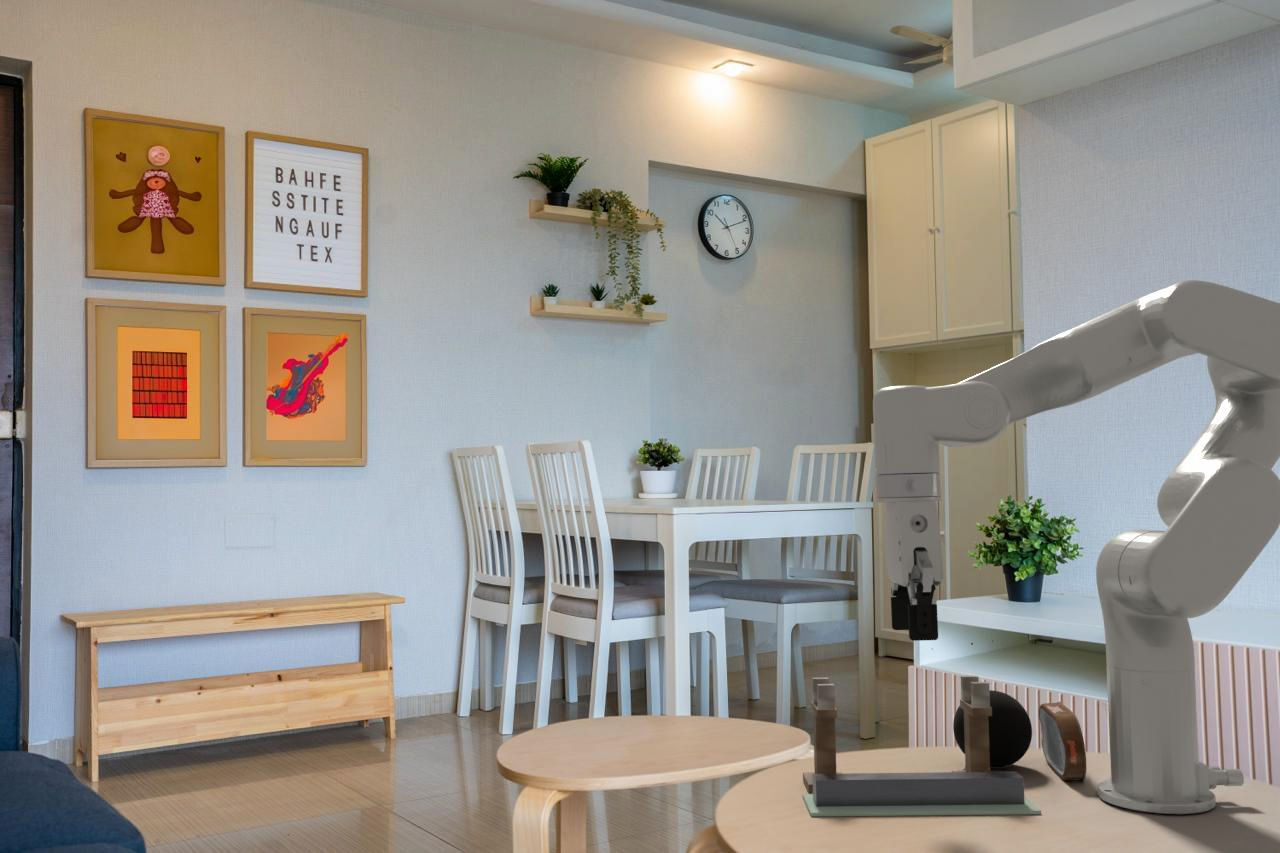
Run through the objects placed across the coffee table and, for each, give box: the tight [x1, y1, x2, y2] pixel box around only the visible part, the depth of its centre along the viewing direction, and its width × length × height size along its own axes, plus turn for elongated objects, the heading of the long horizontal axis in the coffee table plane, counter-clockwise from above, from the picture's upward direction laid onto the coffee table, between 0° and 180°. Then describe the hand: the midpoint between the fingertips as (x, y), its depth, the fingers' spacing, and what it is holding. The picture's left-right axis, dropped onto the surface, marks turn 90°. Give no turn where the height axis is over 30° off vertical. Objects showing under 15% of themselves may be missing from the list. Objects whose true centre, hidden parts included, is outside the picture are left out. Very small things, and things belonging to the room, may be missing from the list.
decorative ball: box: [952, 689, 1033, 769], centre depth 149 cm, size 10×10×10 cm
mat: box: [802, 793, 1042, 817], centre depth 131 cm, size 26×8×1 cm, turn 89°
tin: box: [1038, 701, 1087, 781], centre depth 145 cm, size 15×3×8 cm, turn 172°
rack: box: [802, 675, 994, 794], centre depth 140 cm, size 24×6×13 cm, turn 89°
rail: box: [812, 771, 1025, 807], centre depth 131 cm, size 24×3×3 cm, turn 89°
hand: (914, 634), depth 132 cm, fingers open, 9 cm apart
